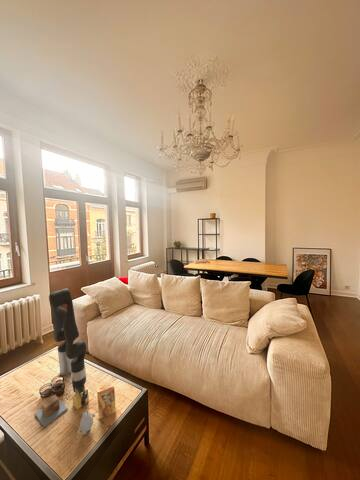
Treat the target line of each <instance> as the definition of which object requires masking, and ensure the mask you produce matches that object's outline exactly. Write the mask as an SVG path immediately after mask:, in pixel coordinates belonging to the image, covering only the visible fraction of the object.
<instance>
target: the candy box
mask: <svg viewBox="0 0 360 480" xmlns="http://www.w3.org/2000/svg"><path fill="white" fill-rule="evenodd" d="M96 396H97V397H96V398H97V407H98V419H99V420H101V419H103V418H105V417H108V416H110V415H113V414H116V412H117V411H116V409H117V407H116V394H115V386H114V383H110V384H107V385H105V386H101V387H98V388H97V389H96Z"/></svg>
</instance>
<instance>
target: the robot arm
mask: <svg viewBox="0 0 360 480" xmlns="http://www.w3.org/2000/svg"><path fill="white" fill-rule="evenodd" d="M48 301H49V306H50V310H51V317H52V319H51V321H52V324H53V325H52V326H53V337H54V339H53V340H54V342H56V343H60V342H61V343H60V344H58V346H57V354H58V364H59V374H60V375H61V376H67V375H70V376H71V377H70V378H71V386H72V390H73V393H74V394H76V393H77V392H78V394H79V396H80V397H81V405H83V406H84V405H85V404H87V402H85V399H86V398H87V396H88V395H89V391H88V389H86V386H85V385H86V382H87V373H86V366H85V358H86V353H87V343H86V342H85V341H84V340H79V341H77V342H75V340H76V339H77V338H79V337H80V332H79V329H78V325H77V321H76V315H75V310H74V309H75V308H74V303H73V298H72V293H71V291H70V289H69V288H67V287H66V288H62V289H59V290H58V289H57V290H55V291H53V292H51V293H49V295H48ZM65 305H66V308H64V307H62V306H65ZM74 342H75V343H74ZM85 389H86V390H85ZM82 392H83V393H82ZM80 393H81V394H80ZM82 395H83V396H82Z"/></svg>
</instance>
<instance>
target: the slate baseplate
mask: <svg viewBox="0 0 360 480" xmlns="http://www.w3.org/2000/svg"><path fill="white" fill-rule="evenodd" d="M59 405H60V408H59V409H58V410H57V411H55V412H54V413H52V414H51V415H50V416H48V417H47V418H46V417H45V416H44V415H43V413H42V408H41V409H39V410H38V411H37V412H34V416H35V418H37V420H38V422H39V423H40V425H41V426H42V427H43V428H46V427H47V426H48V425H50V424H51V423H52V422H53V421H55V420H56V419H57V418H59V417H60V416H61V415H63V414H64V413H66V412H67V411H68V407H67V406H66V405H65V404H64V403H63V402H62V400H61V399H59Z"/></svg>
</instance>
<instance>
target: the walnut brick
mask: <svg viewBox="0 0 360 480" xmlns="http://www.w3.org/2000/svg"><path fill="white" fill-rule="evenodd" d="M59 400H60V398H59V396H57V395H56V394H54V395H52V396H51V397H49V398H47V399H46V400H45V401H42V402H41V404H40V405H41V409H42V413H43V415H44V416H45V417H46V418H47V417H48V416H50V415H51V414H52V413H54V412H55V411H57V410H58V409H59V408H60V405H59Z"/></svg>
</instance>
